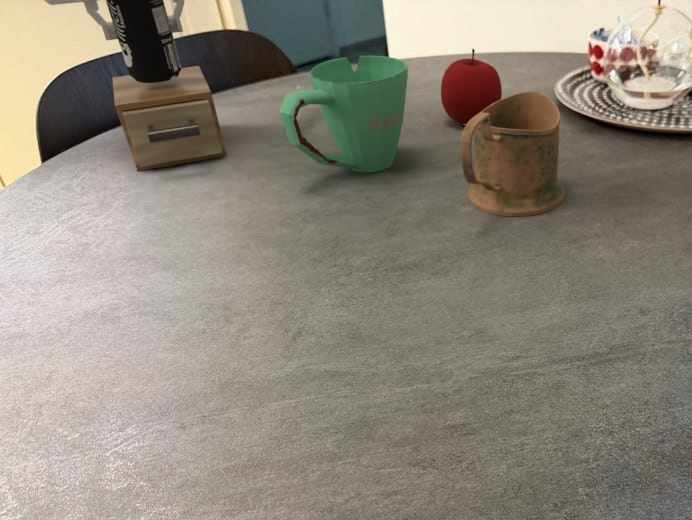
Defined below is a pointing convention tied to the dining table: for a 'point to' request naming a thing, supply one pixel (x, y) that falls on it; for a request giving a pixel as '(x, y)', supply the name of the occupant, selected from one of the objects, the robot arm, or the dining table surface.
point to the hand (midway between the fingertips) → (144, 35)
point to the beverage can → (145, 39)
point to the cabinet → (163, 103)
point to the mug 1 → (354, 111)
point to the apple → (469, 88)
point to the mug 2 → (514, 156)
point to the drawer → (172, 132)
